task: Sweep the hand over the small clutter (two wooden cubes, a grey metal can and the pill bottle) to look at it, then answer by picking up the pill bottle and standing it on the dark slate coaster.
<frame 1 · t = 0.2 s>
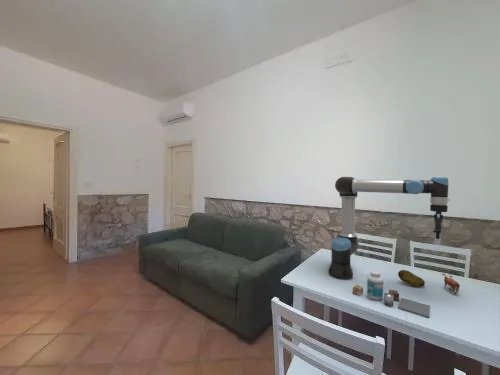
hand: (437, 242, 130), 28 cm above the table, fingers open, 13 cm apart
pill bottle: (374, 297, 123), on the table
walnut cube: (393, 299, 121), on the table
beech cube: (357, 294, 127), on the table
grey can: (388, 304, 116), on the table
coaster: (414, 307, 113), on the table
potato: (410, 285, 139), on the table
bull figurine: (450, 290, 132), on the table
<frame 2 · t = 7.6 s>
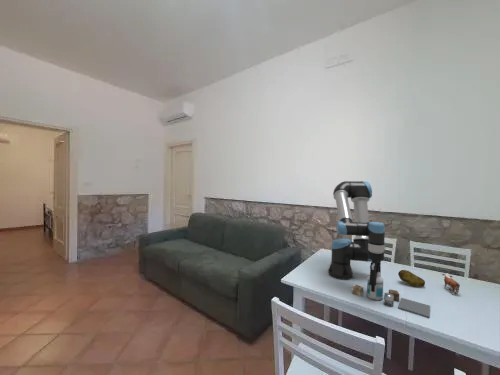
hand: (374, 294, 123), 2 cm above the table, fingers closed on pill bottle, 7 cm apart
pill bottle: (374, 297, 123), on the table, touching gripper
everything else where it was.
when the fingers open (4 cm above the table, at t = 12.9 s): pill bottle drops 1 cm, resting on coaster.
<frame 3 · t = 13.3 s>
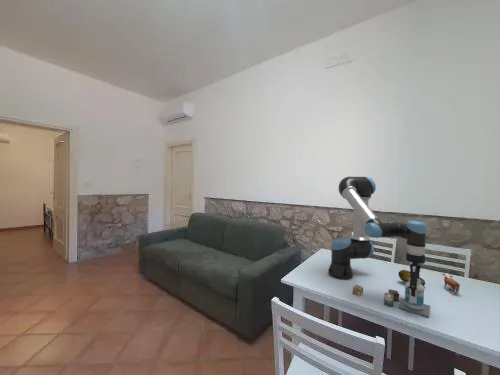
hand: (414, 297, 113), 5 cm above the table, fingers open, 12 cm apart
pill bottle: (413, 306, 113), point 1 cm above the table, touching coaster
everything else where it was.
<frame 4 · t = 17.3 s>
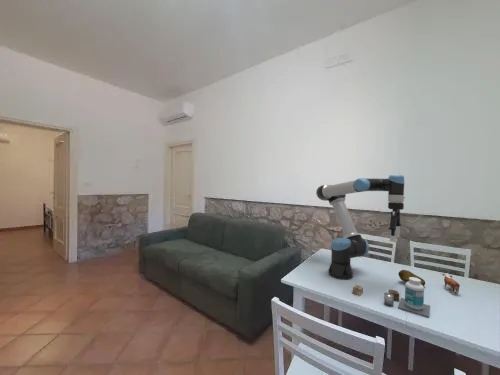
hand: (394, 239, 132), 29 cm above the table, fingers open, 13 cm apart
nothing on the table moved.
at the end: pill bottle 0.1 cm from the coaster (horizontally); pill bottle tilted 0°; the gripper is holding nothing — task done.
